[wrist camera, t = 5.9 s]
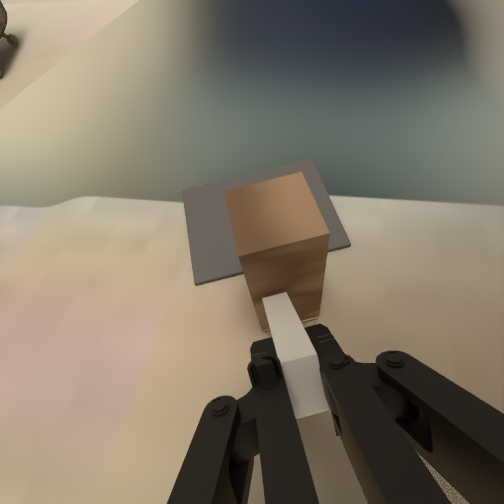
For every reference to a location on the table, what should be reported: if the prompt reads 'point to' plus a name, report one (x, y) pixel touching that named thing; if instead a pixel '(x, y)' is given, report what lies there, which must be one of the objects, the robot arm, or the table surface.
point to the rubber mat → (219, 225)
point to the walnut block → (280, 243)
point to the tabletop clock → (0, 26)
